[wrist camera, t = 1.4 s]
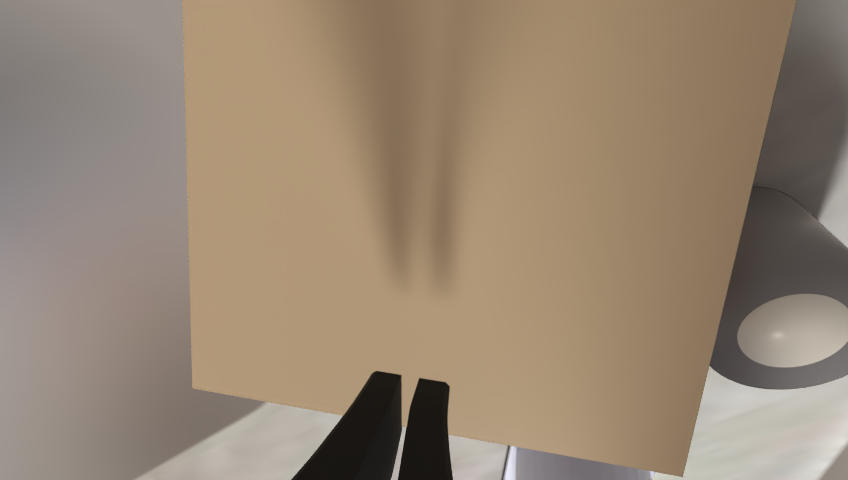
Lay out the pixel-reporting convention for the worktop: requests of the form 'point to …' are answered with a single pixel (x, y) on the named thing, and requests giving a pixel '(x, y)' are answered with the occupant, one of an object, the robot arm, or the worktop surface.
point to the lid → (476, 206)
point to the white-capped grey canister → (784, 300)
